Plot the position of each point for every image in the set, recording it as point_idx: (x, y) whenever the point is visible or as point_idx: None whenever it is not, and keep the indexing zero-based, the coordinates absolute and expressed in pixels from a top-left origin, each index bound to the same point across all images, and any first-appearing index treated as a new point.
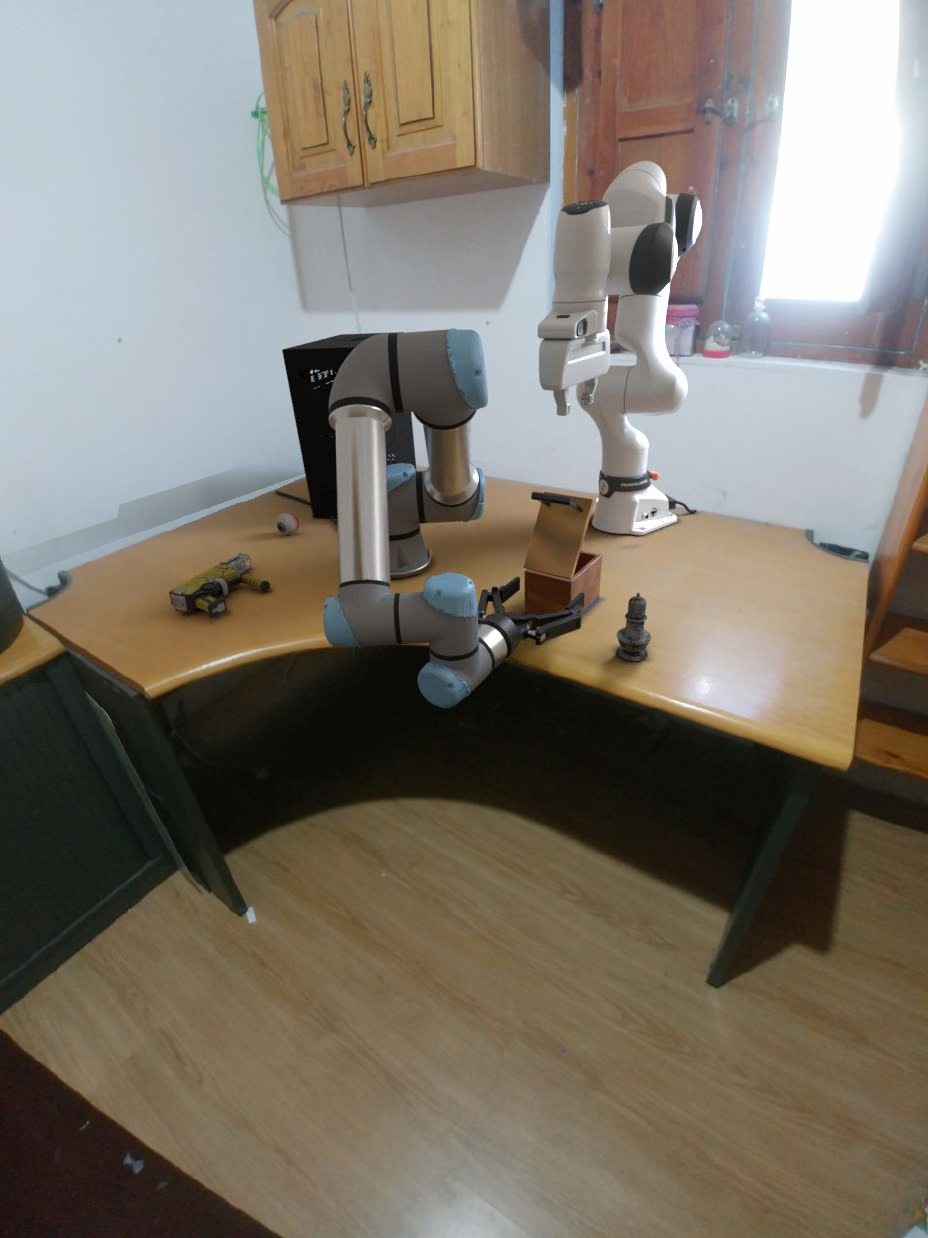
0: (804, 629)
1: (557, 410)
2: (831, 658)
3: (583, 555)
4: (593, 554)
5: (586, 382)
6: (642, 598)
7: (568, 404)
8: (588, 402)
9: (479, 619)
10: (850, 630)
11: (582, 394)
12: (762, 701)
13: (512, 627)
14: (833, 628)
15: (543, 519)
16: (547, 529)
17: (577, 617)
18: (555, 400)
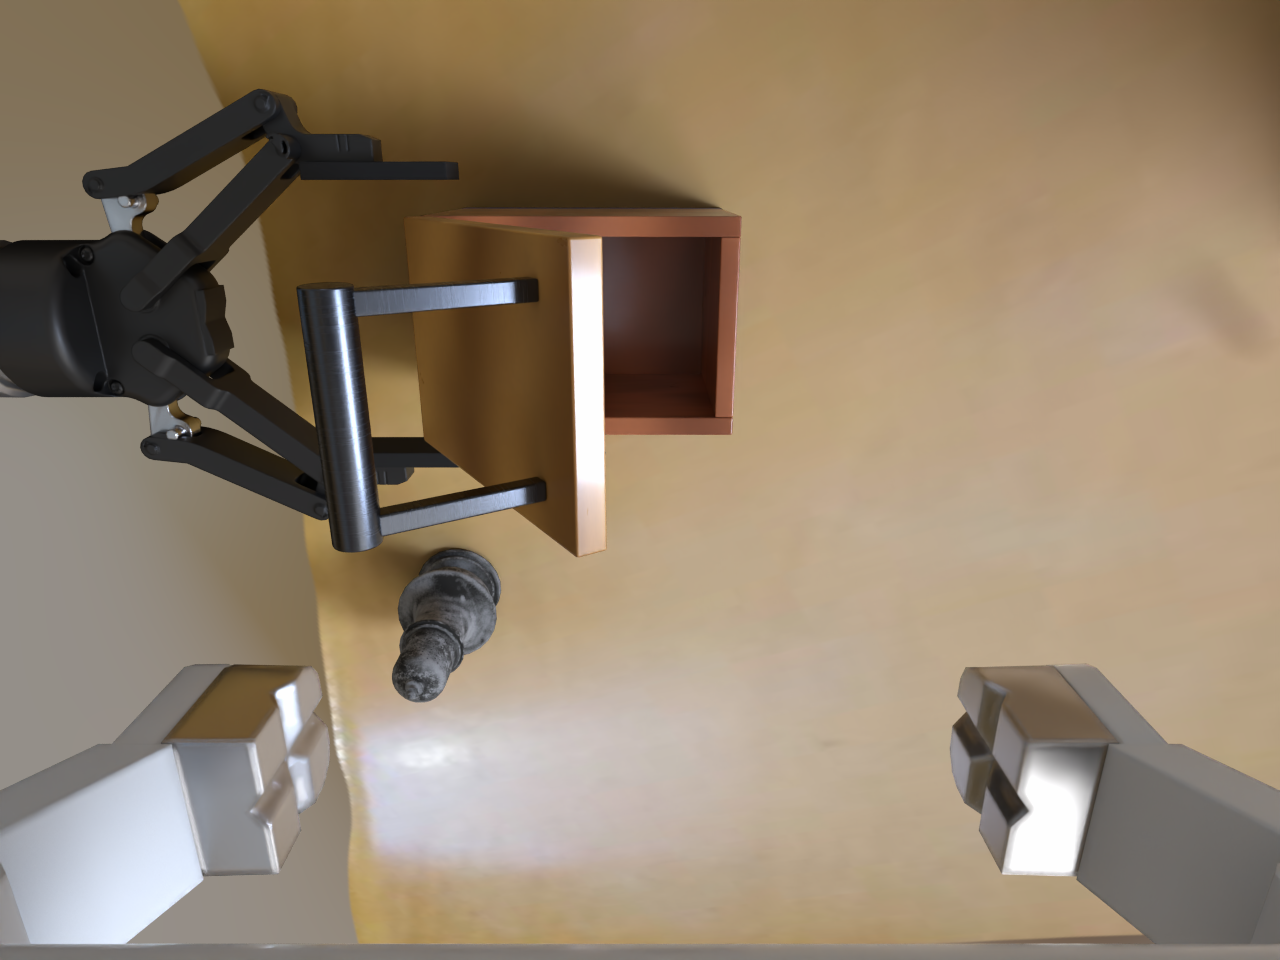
0: (797, 873)
1: (166, 697)
2: (689, 927)
3: (715, 357)
4: (719, 403)
5: (1261, 922)
6: (422, 696)
7: (215, 872)
8: (958, 777)
9: (103, 205)
10: (837, 943)
11: (1038, 756)
12: (446, 853)
13: (64, 388)
14: (831, 917)
15: (496, 272)
16: (480, 307)
17: (307, 513)
18: (5, 793)
